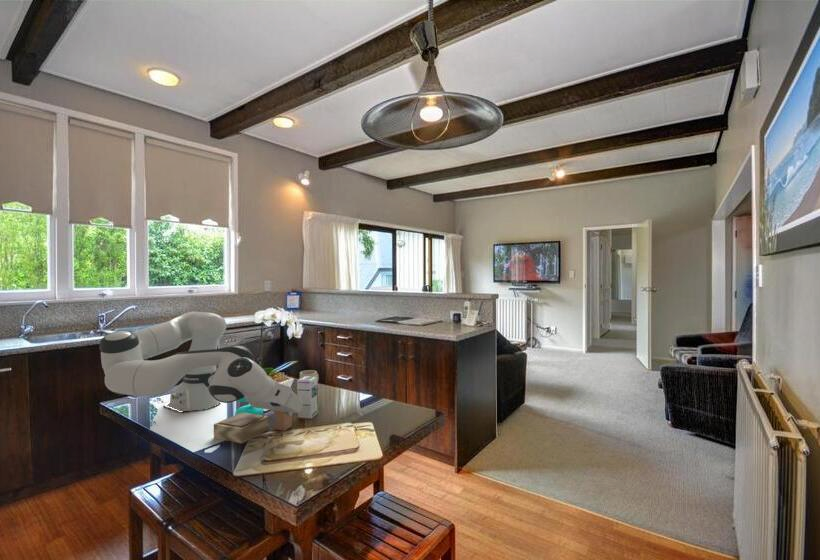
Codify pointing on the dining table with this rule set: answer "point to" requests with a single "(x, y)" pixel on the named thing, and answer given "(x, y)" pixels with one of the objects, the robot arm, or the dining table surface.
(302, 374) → the character mug
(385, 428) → the dining table surface
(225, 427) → the plinth
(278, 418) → the terracotta block
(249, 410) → the donuts
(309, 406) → the syrup box
